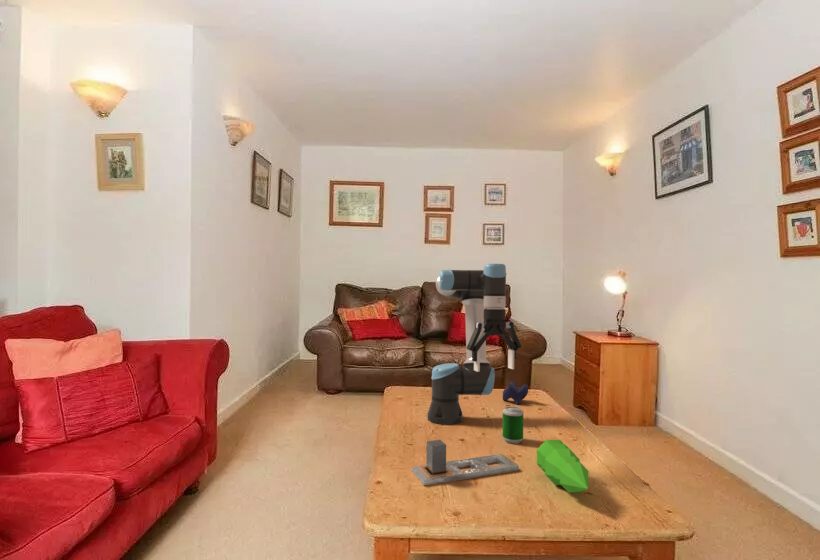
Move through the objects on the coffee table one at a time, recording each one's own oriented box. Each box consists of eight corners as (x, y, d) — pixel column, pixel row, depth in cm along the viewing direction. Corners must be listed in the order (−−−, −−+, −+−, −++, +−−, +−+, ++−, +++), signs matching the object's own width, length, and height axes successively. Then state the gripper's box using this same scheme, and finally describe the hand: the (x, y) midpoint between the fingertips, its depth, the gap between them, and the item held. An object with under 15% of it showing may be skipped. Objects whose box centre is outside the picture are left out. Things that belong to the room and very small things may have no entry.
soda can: (523, 445, 160) (523, 412, 160) (502, 443, 162) (502, 410, 162) (522, 438, 167) (522, 406, 167) (502, 436, 169) (502, 405, 169)
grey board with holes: (411, 471, 137) (411, 466, 137) (501, 458, 148) (501, 453, 148) (423, 485, 127) (423, 479, 127) (518, 470, 138) (518, 464, 138)
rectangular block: (426, 474, 135) (426, 441, 135) (439, 471, 137) (440, 439, 137) (432, 480, 131) (432, 446, 131) (445, 478, 133) (446, 444, 133)
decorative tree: (554, 426, 144) (598, 459, 114) (568, 459, 143) (615, 501, 113) (522, 440, 143) (558, 477, 113) (536, 473, 143) (575, 519, 113)
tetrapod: (498, 397, 223) (500, 377, 221) (521, 396, 225) (523, 376, 222) (506, 409, 213) (508, 388, 210) (530, 408, 214) (532, 387, 211)
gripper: (467, 309, 145) (466, 374, 145) (531, 308, 154) (531, 369, 153) (457, 308, 152) (456, 369, 152) (519, 307, 161) (518, 365, 160)
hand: (494, 369), depth 153 cm, fingers open, 13 cm apart
